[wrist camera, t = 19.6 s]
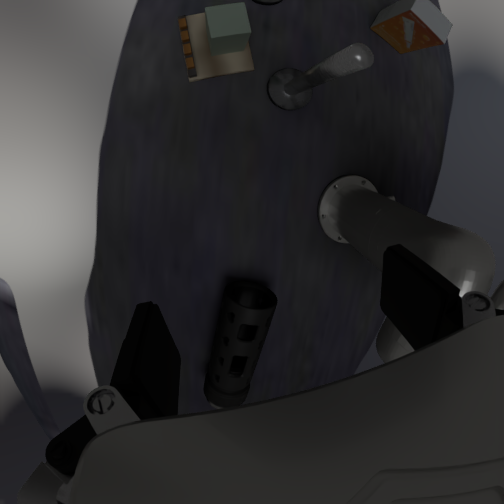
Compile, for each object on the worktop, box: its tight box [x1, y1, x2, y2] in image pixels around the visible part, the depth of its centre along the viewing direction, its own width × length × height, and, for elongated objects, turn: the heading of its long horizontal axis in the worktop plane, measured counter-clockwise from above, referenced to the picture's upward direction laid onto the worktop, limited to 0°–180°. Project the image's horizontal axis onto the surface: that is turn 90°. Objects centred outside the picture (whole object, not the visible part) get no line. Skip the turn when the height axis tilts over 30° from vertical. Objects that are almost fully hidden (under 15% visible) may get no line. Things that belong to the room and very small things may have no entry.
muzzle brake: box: [204, 281, 278, 409], centre depth 52 cm, size 10×28×10 cm, turn 167°
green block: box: [205, 2, 251, 56], centre depth 30 cm, size 5×5×9 cm
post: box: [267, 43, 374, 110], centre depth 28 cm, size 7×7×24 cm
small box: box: [370, 0, 452, 54], centre depth 30 cm, size 8×6×13 cm
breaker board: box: [178, 13, 254, 82], centre depth 33 cm, size 10×12×4 cm
